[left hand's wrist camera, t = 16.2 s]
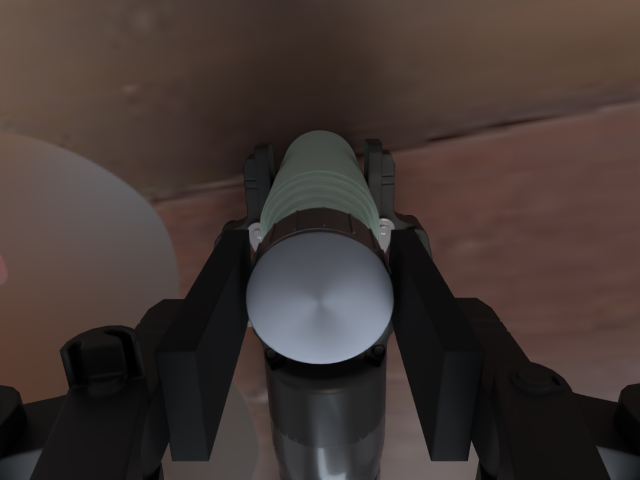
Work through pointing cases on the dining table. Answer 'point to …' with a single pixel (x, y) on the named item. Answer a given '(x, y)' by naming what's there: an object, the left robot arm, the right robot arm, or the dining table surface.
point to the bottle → (319, 182)
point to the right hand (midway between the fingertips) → (317, 144)
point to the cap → (319, 287)
